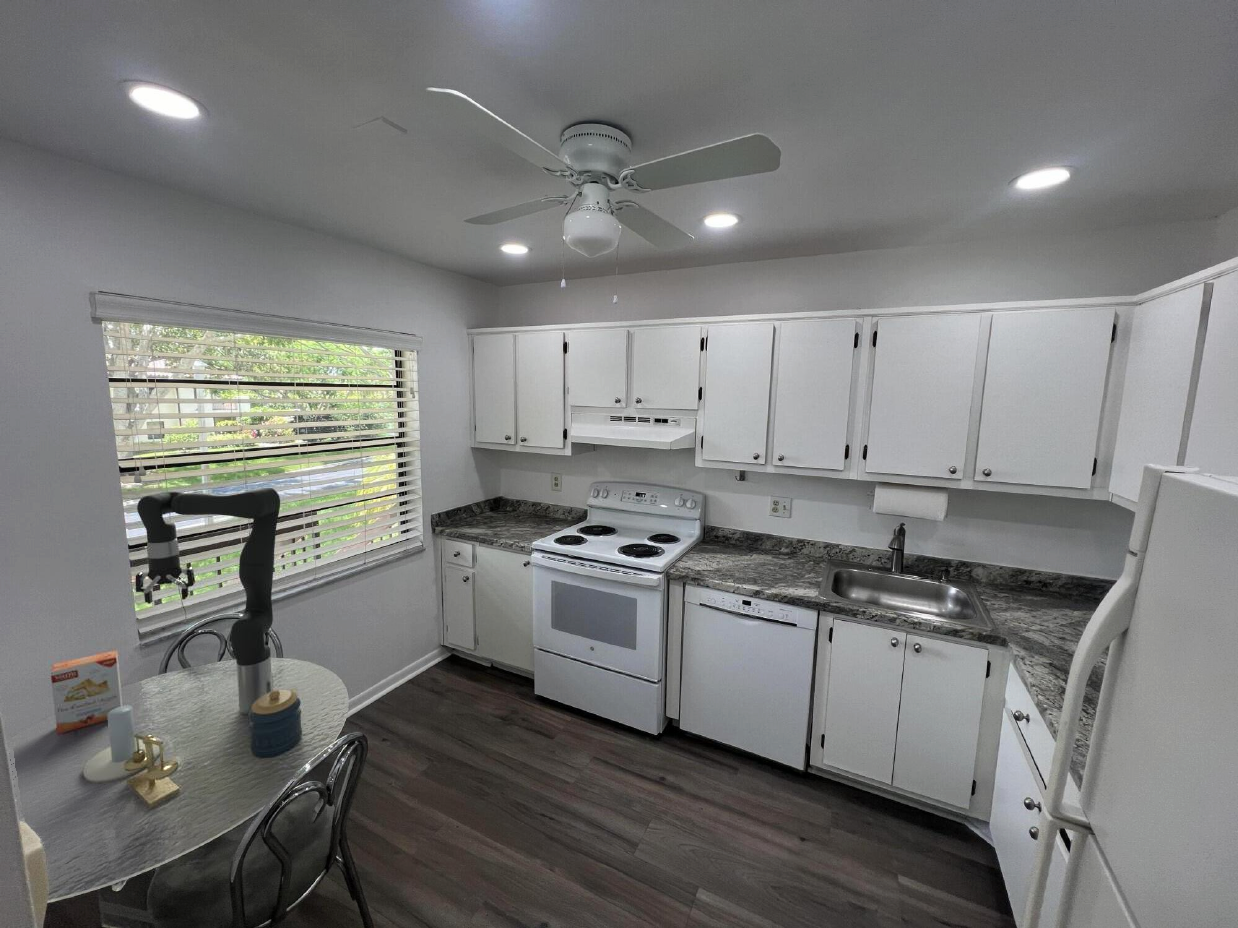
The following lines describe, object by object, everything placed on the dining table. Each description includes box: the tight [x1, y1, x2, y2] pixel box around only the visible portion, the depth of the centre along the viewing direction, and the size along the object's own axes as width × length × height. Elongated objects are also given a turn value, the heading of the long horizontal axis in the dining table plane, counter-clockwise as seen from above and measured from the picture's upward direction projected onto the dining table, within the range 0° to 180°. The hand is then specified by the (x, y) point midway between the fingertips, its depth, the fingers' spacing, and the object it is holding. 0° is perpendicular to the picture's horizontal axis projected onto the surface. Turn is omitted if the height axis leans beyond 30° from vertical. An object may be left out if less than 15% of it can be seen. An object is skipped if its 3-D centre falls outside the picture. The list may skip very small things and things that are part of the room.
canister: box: [248, 689, 303, 759], centre depth 149 cm, size 13×13×18 cm
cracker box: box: [50, 650, 123, 735], centre depth 154 cm, size 14×6×21 cm, turn 133°
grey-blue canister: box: [107, 704, 137, 762], centre depth 140 cm, size 5×5×14 cm
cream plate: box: [82, 736, 164, 784], centre depth 141 cm, size 16×16×2 cm
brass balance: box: [124, 733, 180, 810], centre depth 131 cm, size 22×6×17 cm, turn 61°
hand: (167, 600), depth 162 cm, fingers open, 8 cm apart
